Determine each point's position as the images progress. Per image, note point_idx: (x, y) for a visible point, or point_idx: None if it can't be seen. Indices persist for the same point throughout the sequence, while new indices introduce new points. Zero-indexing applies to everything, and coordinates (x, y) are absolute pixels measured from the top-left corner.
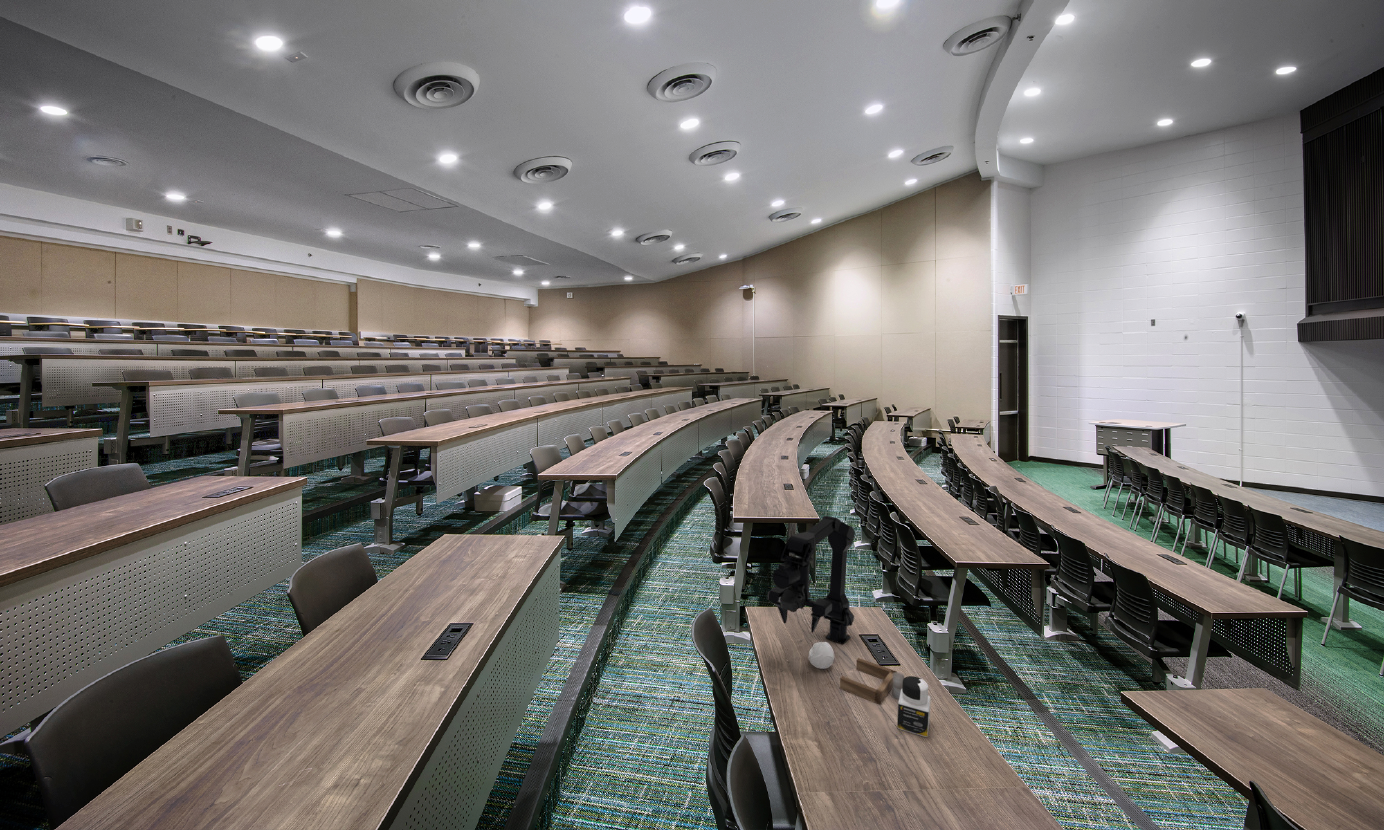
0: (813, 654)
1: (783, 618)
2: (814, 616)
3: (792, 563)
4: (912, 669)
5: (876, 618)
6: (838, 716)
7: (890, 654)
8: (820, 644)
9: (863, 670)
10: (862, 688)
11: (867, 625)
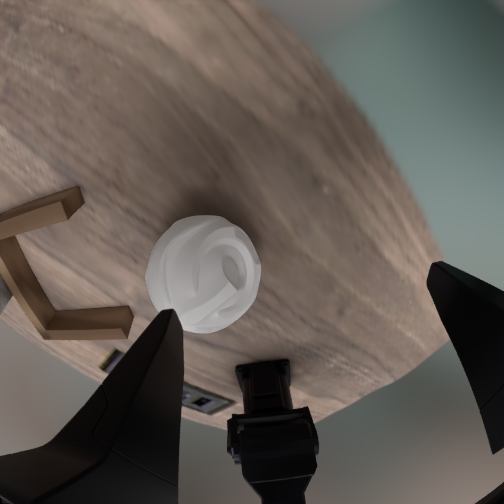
0: (204, 236)
1: (467, 280)
2: (9, 470)
3: None
4: (79, 367)
5: None
6: (10, 71)
7: None
8: (197, 302)
9: (108, 310)
10: (10, 216)
11: None
